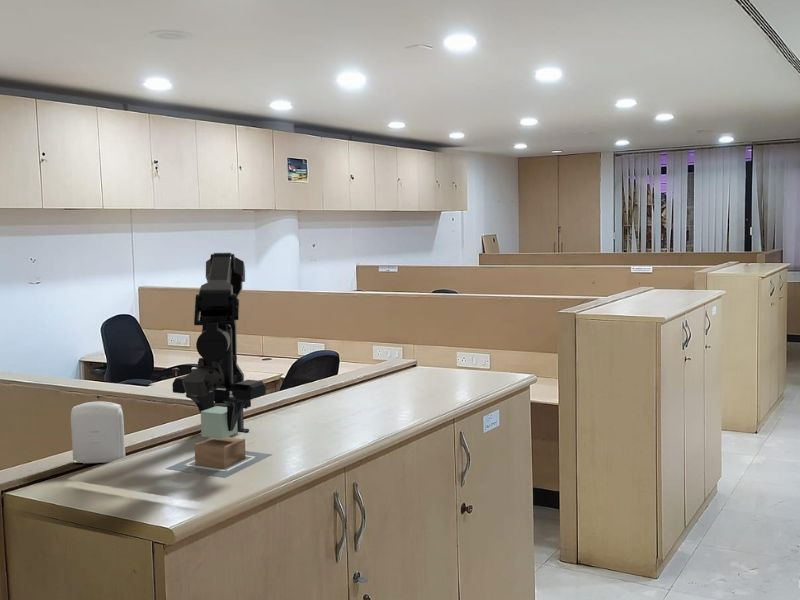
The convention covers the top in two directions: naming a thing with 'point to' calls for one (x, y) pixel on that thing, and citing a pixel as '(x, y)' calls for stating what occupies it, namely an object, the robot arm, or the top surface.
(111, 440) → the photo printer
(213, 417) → the sage cube
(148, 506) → the top surface
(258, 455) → the board
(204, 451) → the walnut block
